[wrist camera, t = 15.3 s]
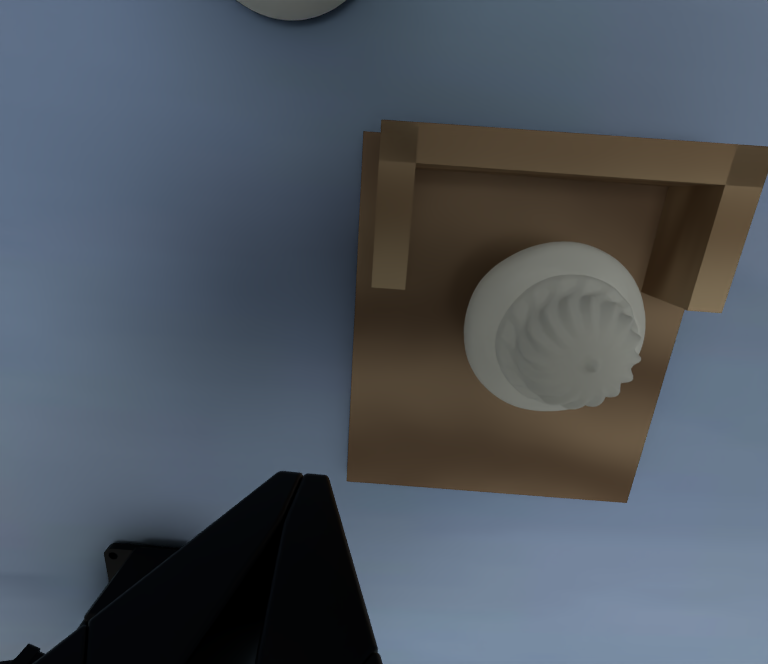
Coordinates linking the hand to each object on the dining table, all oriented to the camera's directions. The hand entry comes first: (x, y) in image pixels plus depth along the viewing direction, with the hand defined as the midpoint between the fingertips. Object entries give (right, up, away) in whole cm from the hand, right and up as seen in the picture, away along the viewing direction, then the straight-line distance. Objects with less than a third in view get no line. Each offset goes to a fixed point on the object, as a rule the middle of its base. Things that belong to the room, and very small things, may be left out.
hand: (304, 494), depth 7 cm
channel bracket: (+7, +3, +12) cm, 14 cm away
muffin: (+7, +4, +11) cm, 14 cm away
